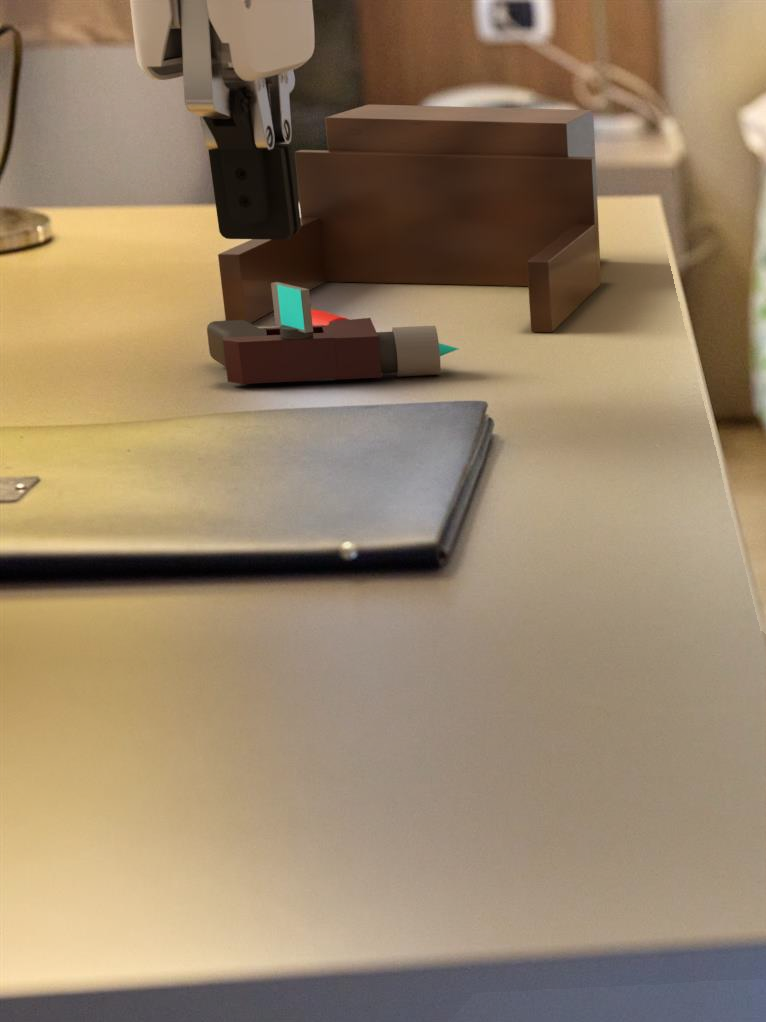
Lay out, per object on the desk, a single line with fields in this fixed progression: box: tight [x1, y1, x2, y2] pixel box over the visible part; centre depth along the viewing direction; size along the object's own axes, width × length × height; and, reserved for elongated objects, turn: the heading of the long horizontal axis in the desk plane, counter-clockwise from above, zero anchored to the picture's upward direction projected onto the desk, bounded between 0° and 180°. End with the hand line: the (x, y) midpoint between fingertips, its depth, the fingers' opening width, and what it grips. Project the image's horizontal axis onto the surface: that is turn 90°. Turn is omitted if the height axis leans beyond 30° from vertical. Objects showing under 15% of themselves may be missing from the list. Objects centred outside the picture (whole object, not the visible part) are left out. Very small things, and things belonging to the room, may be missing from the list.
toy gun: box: [206, 282, 460, 385], centre depth 100 cm, size 10×12×5 cm
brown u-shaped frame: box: [217, 104, 602, 333], centre depth 120 cm, size 18×25×10 cm
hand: (261, 235), depth 89 cm, fingers closed
